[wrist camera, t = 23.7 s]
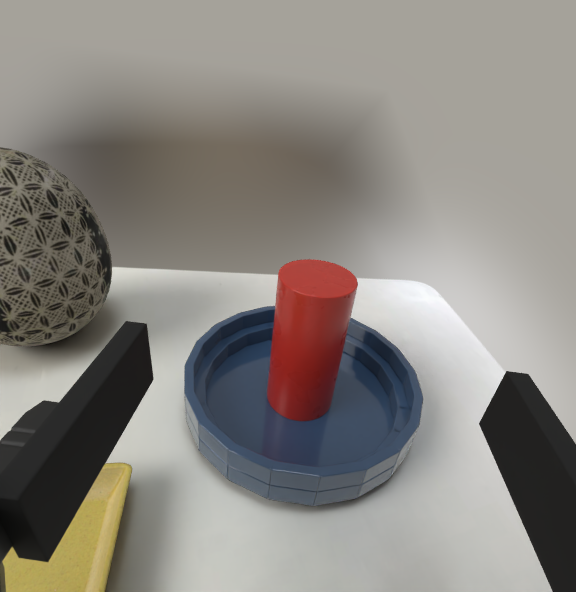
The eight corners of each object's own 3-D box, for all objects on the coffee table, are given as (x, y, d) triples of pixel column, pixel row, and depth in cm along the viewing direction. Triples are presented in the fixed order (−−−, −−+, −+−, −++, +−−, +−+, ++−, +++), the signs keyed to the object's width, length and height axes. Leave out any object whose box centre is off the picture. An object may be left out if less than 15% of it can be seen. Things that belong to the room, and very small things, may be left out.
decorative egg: (103, 378, 28) (60, 176, 20) (-78, 385, 26) (-202, 162, 18) (132, 297, 38) (111, 139, 30) (2, 297, 36) (-56, 127, 28)
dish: (390, 349, 35) (399, 318, 33) (433, 532, 21) (453, 496, 19) (218, 326, 35) (218, 295, 33) (148, 490, 21) (141, 451, 19)
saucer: (94, 698, 14) (84, 680, 13) (-179, 744, 13) (-215, 728, 12) (138, 483, 21) (134, 461, 20) (-32, 496, 20) (-46, 472, 19)
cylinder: (331, 377, 30) (355, 264, 24) (331, 426, 25) (361, 302, 20) (271, 369, 30) (282, 255, 25) (262, 416, 26) (273, 291, 20)
